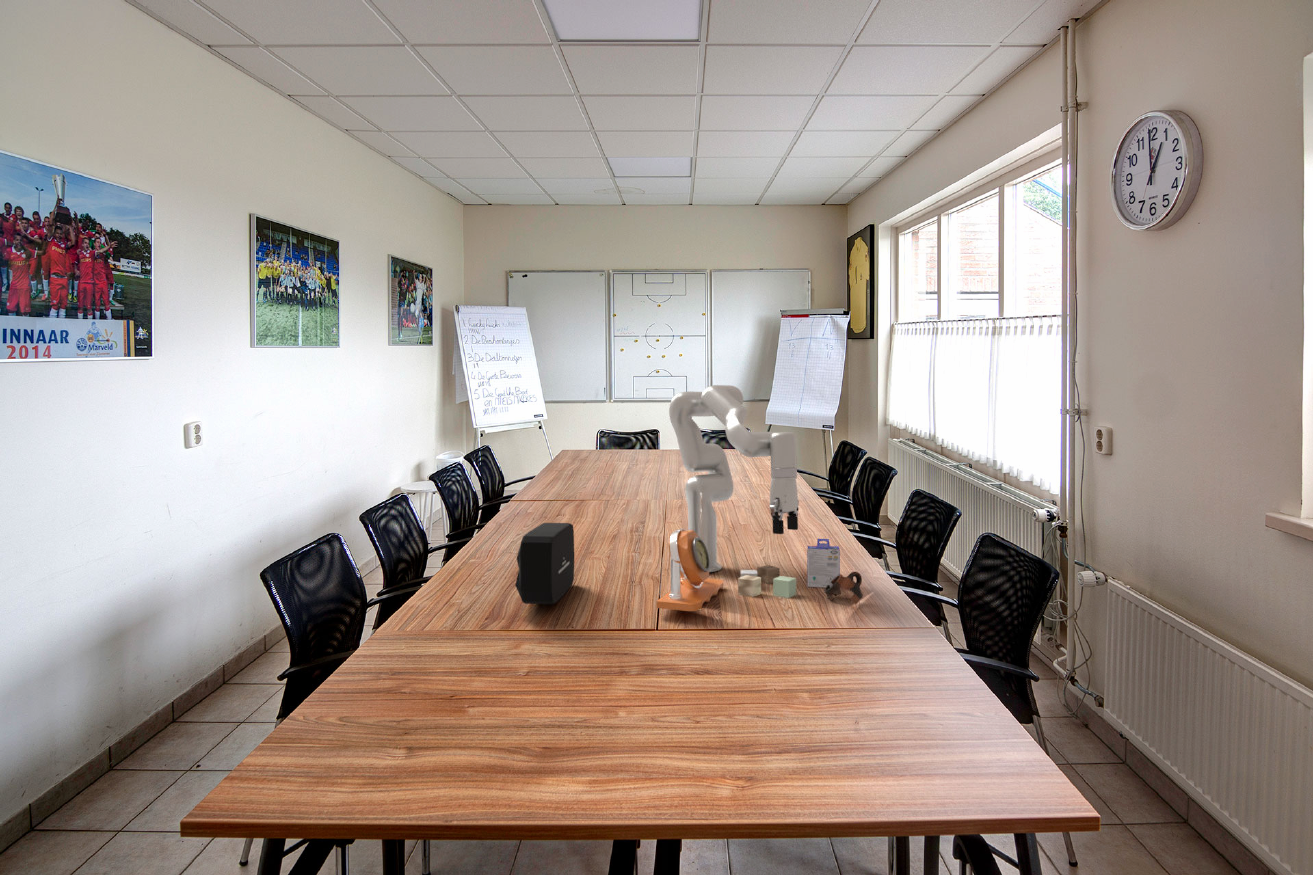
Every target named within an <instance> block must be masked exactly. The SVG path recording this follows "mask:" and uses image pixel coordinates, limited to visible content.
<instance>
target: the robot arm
mask: <svg viewBox="0 0 1313 875" xmlns="http://www.w3.org/2000/svg"><path fill="white" fill-rule="evenodd" d="M743 403H744V396H743V392H742V391H741V390H740V389H739V388H738V387H737V386H734V385H727V384H726V385H725V384H724V385H723V384H720V385H719V384H713V385H710V386H707V387H706V388H705V389H704V390H703V391H683V392H682V391H681V392H679V393H677V394H675V395H674V396H673V397H672V398H671V401H670V404H669V409H668V415H669V420H670V423H671V426H672V427H673V430H674V433H675V436H676V439H677V443H678V448H679V452H680V456H681V461H682V463H683V467H684V468H685V469H686V471H688V472H689V473H702V472H707V473H706V474H698V475H697V474H696V475H694V476H691V477H690V478H689V479H688V480H687V481H686V483H685V485H684V486H685V487H684V492H685V498H686V499H685V500H686V504H687V520H688V521H687V523H688V526H687V528H688V529H687V531H689V530H694V531H695V533H696V534H697V535H698V537H700V538H701V539H702V540H703V542H704V544H705V546H706V548H707V551H708V554H709V558H710V570H709V573H713V572H718V571H720V570H721V569H722V564H720V563H718V560H717V558H718V557H717V556H718V555H717V554H718V552H717V546H718V544H717V537H718V536H717V529H718V528H717V526H718V525H717V522H718V521H717V520H718V519H717V514H716V510H715V508H714V506H713V504H712V503H717V502H722V501H723V502H724V501H727V500H729V499H730V498H731V497H732V496H733V493H734V481H733V477H732V473H731V469H730V466H729V463H728V458H727V455H726V452H725V450H724V449H723V447H721V446H720V445H719V444H716V443H706V442H705V441H704V439H703V434H702V431H701V429H700V427H699V425H698V424H697V422H695V421H694V419H693V417H715V418H717V420H719V422H720V423H722V425H723V426H725V428H724V429H725V430H724V431H725V435H726V438H727V440H728V442H729V444H730V445H731V446H732V447H733V448H734V449H735V450H736V451H738V453H740V454H741V455H743V456H744V457H747V458H760V457H767V458H768V457H770V477H771V478H770V479H771V480H770V489H769V511H770V515H771V520H772V534H774V535H784V520H783V518H784V515H785V514H787V515H786V522H787V523H786V525H787V527H786V528H787V530H788V531H789V530H790V531H791V530H792V531H797V530H798V529H799V523H798V522H799V521H798V520H799V518H798V516H799V510H800V509H799V504H800V500H799V499H798V498H799V497H798V487H797V485H798V484H797V479H798V471H797V469H798V468H797V466H798V465H797V437H796V434H795V432H792V431H780V432H779V431H777V432H776V431H775V432H774V431H750V430H748V429H747V428H746V427H745V426H744V425H743V424H744V423H745V421H746V419H747V417H748V411H747V408H746V407H745V406H744V405H743Z"/></svg>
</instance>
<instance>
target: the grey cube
mask: <svg viewBox="0 0 1313 875" xmlns="http://www.w3.org/2000/svg"><path fill="white" fill-rule="evenodd" d="M745 575H749V576H756V577H757V569H741V570H740V577H743V576H745Z"/></svg>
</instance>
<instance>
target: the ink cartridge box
mask: <svg viewBox="0 0 1313 875" xmlns="http://www.w3.org/2000/svg"><path fill="white" fill-rule="evenodd" d="M825 542H826V543H825ZM806 550H807V553H806V558H807V559H806V560H807V561H806V562H807V568H806V569H807V570H806V572H807V579H806V580H807V588H808V587H810V588H826V587H827V585H829V586H830V587H831V586H832V585H833V584H832V583H831V581H832V580H833V579H834V578H835V577H837V576H838V575H840V574H841V573H840V572H841V552H840V550H841V549H840V547H839V546H836V545H833V546H831V545H830V539H829V538H817V542H816V545H807V549H806Z"/></svg>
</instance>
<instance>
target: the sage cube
mask: <svg viewBox="0 0 1313 875" xmlns="http://www.w3.org/2000/svg"><path fill="white" fill-rule="evenodd" d="M772 588H773V589H772V590H773V591H772V592H773V594H772V596H774V597H778V598H779V597H780V598H785V599H790V598H792V597H794V596H797V578H796V577H790V576H784V575H780V576H779V577H777V578H775V579H773V583H772Z"/></svg>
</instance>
